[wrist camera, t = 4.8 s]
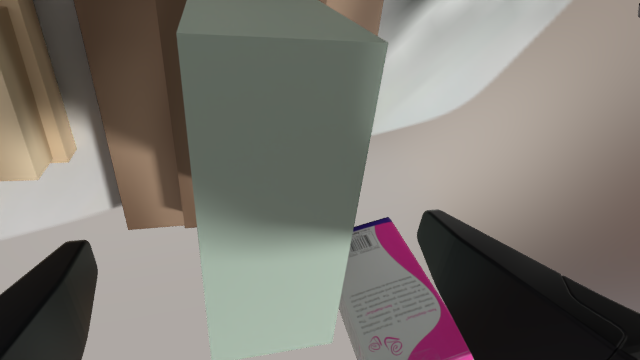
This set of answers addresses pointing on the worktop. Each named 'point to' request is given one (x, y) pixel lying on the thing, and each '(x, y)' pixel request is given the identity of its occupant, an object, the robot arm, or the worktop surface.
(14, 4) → the offcut lower
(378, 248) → the supplement box
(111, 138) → the rack
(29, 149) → the offcut upper
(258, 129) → the sage green block
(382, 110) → the worktop surface
